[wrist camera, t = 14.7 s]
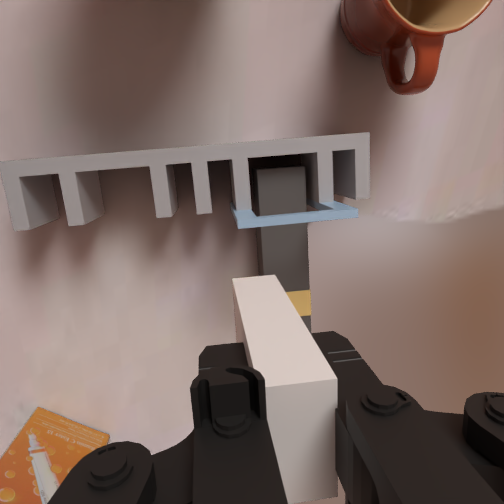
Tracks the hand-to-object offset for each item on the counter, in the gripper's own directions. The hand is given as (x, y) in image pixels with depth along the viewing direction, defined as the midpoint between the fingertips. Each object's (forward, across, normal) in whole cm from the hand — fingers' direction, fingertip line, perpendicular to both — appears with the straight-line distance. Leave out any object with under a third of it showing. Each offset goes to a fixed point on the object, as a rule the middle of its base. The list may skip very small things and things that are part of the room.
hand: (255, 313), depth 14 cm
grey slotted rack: (+24, -2, +3) cm, 25 cm away
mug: (+24, +15, +15) cm, 32 cm away
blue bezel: (+24, +5, +1) cm, 25 cm away
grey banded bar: (+24, +5, -4) cm, 25 cm away
